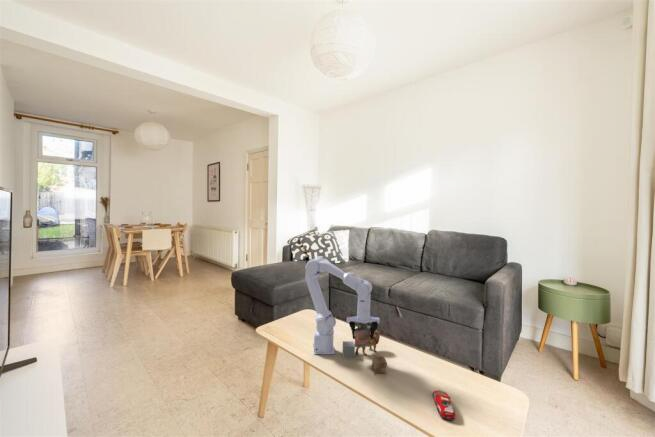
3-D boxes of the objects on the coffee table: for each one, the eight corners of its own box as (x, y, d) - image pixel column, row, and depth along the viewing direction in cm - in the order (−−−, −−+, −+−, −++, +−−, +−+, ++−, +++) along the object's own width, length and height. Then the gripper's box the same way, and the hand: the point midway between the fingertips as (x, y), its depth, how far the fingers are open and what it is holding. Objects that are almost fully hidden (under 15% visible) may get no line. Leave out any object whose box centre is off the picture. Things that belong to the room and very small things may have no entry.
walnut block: (374, 374, 118) (375, 362, 118) (372, 367, 123) (372, 356, 123) (386, 374, 118) (387, 362, 118) (383, 367, 123) (384, 356, 123)
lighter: (357, 348, 125) (357, 326, 125) (352, 344, 128) (353, 323, 128) (371, 344, 129) (372, 322, 128) (367, 341, 132) (368, 319, 131)
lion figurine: (373, 345, 142) (374, 327, 142) (382, 349, 138) (382, 331, 138) (352, 354, 133) (353, 335, 133) (360, 359, 129) (361, 340, 128)
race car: (431, 394, 107) (431, 384, 107) (446, 396, 106) (446, 385, 106) (439, 420, 94) (439, 408, 94) (456, 422, 93) (457, 411, 93)
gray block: (343, 357, 131) (343, 346, 130) (342, 351, 136) (342, 341, 135) (354, 357, 131) (354, 346, 130) (352, 351, 136) (353, 341, 135)
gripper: (348, 311, 123) (347, 342, 124) (381, 312, 124) (380, 342, 125) (346, 305, 130) (345, 334, 131) (378, 306, 131) (377, 335, 132)
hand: (362, 338), depth 128 cm, fingers closed on lighter, 7 cm apart
